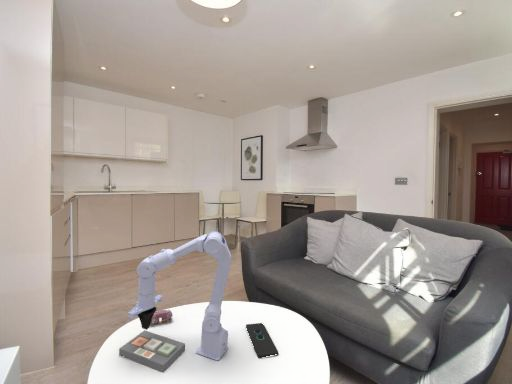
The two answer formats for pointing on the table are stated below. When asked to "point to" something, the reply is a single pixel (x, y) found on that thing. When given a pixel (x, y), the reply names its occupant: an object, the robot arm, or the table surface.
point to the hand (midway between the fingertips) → (145, 327)
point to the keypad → (151, 357)
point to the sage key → (166, 350)
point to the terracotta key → (140, 341)
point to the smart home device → (261, 340)
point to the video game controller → (161, 316)
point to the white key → (153, 345)
